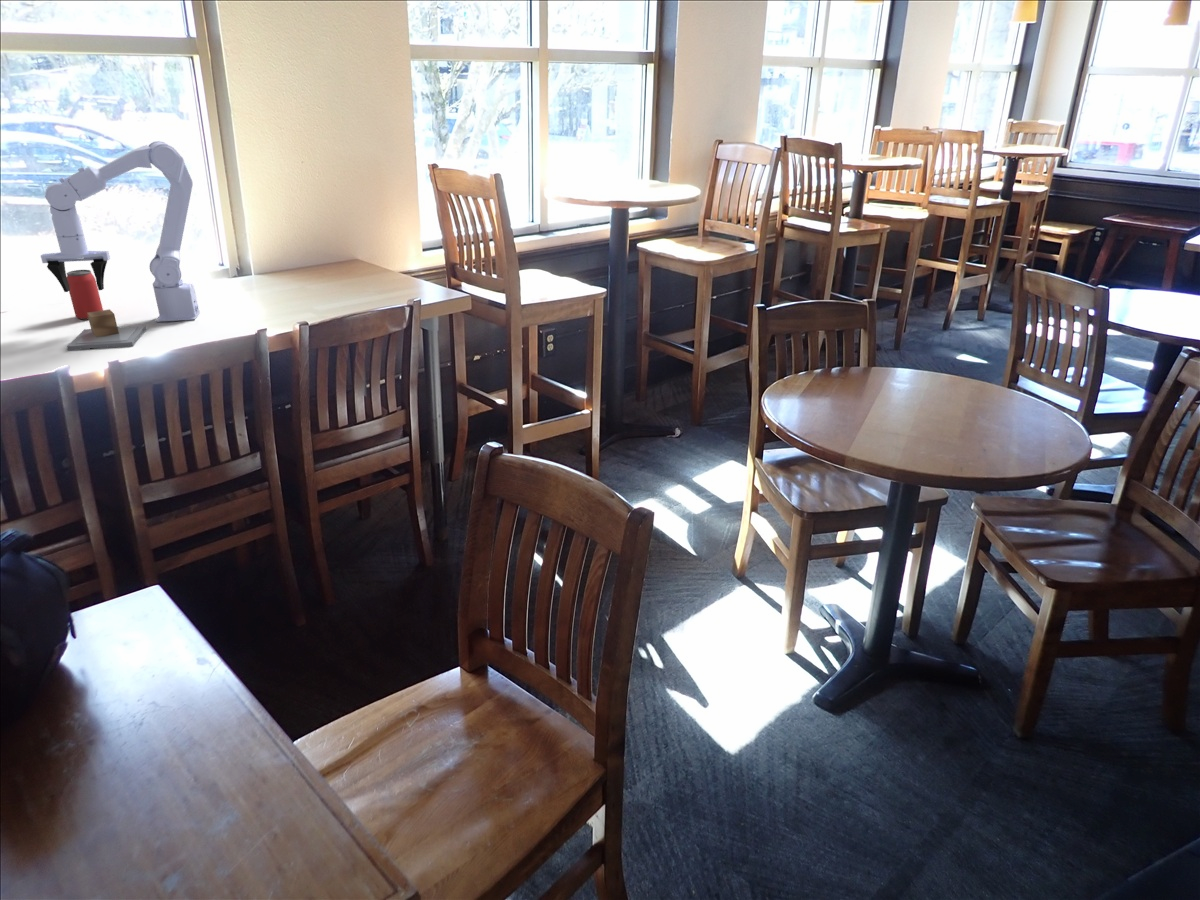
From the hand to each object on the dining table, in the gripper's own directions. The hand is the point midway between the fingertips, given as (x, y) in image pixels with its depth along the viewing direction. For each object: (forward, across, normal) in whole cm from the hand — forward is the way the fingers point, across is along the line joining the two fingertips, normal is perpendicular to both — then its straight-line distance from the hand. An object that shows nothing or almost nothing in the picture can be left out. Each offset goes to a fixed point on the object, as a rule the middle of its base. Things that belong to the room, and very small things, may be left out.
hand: (84, 290), depth 209 cm
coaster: (+10, -6, +11) cm, 16 cm away
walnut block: (+9, -5, +9) cm, 13 cm away
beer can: (+10, +4, -12) cm, 16 cm away
